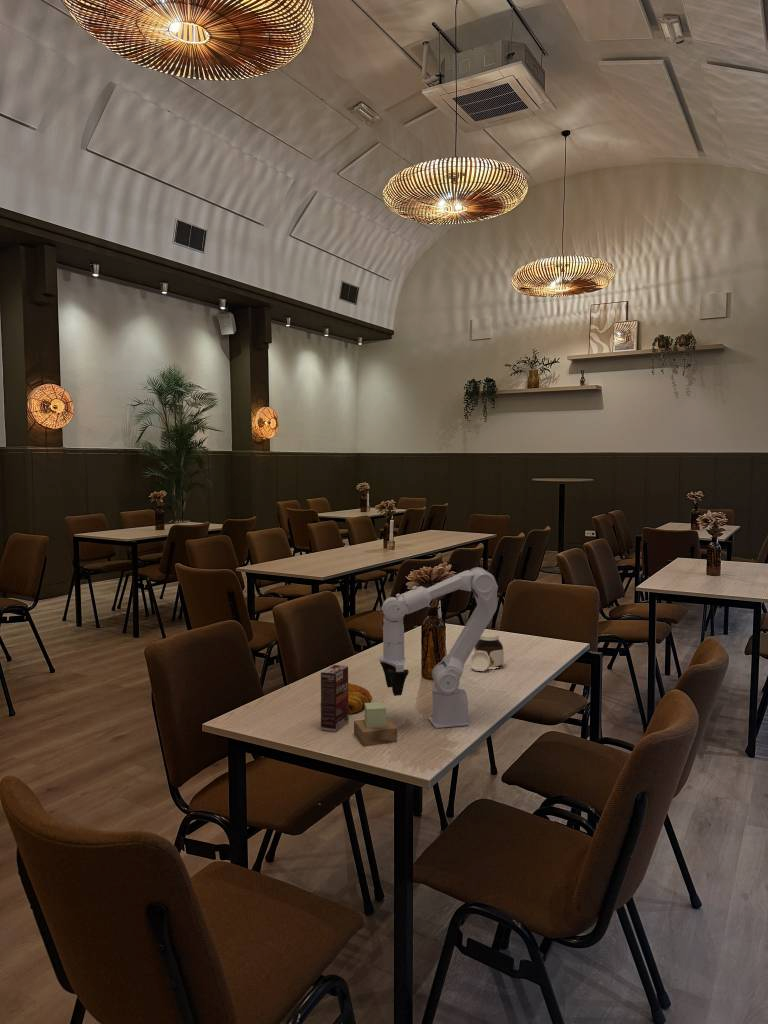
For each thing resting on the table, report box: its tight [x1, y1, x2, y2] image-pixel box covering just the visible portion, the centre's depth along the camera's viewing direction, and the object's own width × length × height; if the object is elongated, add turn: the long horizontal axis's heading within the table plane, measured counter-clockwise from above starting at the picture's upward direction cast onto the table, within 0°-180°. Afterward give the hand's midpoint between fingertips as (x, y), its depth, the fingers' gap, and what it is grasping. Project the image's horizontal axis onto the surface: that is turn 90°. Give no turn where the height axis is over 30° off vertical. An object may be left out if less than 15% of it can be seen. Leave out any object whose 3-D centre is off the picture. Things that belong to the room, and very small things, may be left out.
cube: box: [364, 701, 387, 728], centre depth 188 cm, size 5×5×5 cm
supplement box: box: [320, 664, 350, 733], centre depth 197 cm, size 9×5×16 cm, turn 158°
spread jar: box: [469, 632, 504, 672], centre depth 252 cm, size 12×11×12 cm
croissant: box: [348, 682, 373, 715], centre depth 213 cm, size 14×16×8 cm
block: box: [353, 716, 398, 747], centre depth 188 cm, size 9×9×4 cm
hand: (394, 690), depth 197 cm, fingers open, 7 cm apart
